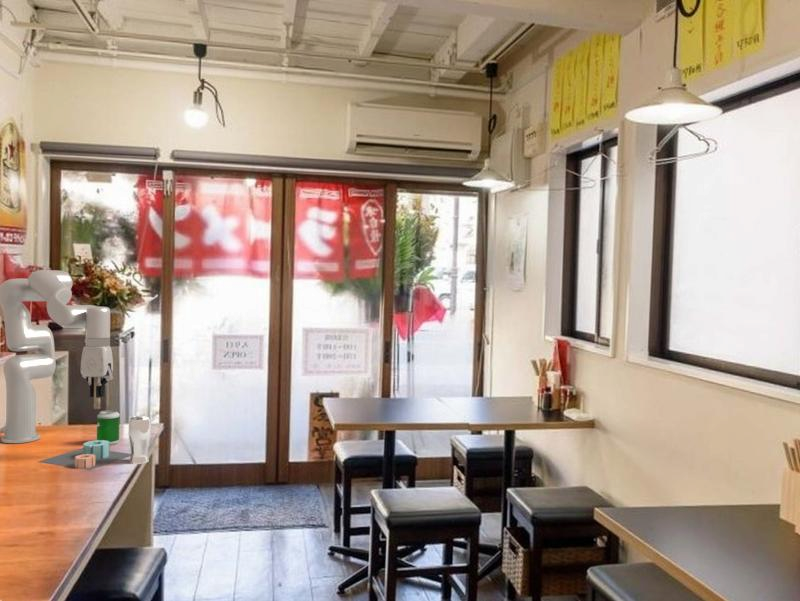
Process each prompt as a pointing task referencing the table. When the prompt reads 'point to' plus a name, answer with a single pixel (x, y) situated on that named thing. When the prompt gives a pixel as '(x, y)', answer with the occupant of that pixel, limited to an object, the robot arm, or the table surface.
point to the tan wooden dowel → (96, 400)
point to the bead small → (85, 461)
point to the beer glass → (139, 438)
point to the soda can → (108, 426)
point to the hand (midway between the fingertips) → (97, 396)
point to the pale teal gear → (97, 448)
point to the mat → (69, 457)
